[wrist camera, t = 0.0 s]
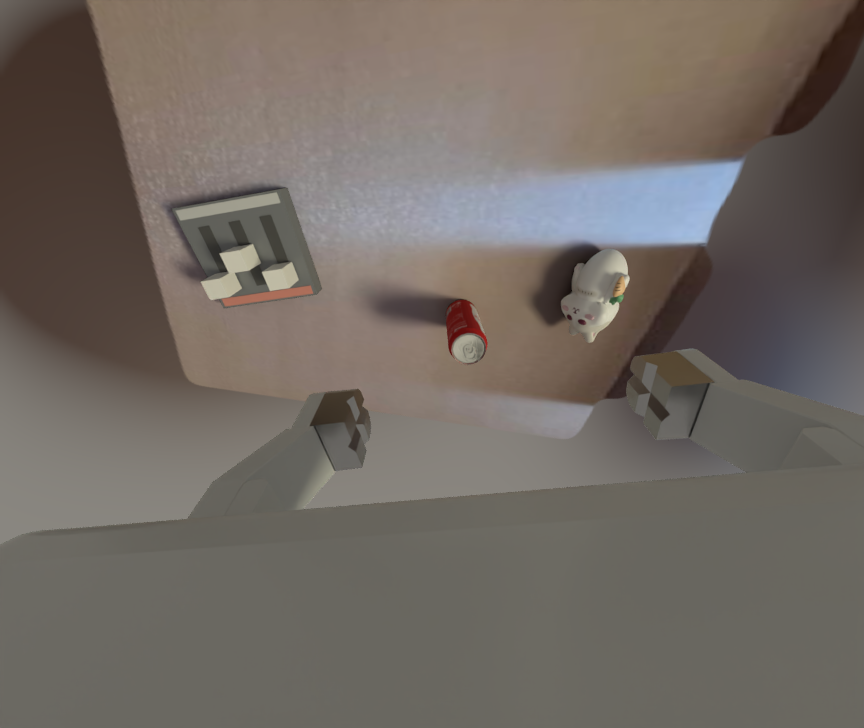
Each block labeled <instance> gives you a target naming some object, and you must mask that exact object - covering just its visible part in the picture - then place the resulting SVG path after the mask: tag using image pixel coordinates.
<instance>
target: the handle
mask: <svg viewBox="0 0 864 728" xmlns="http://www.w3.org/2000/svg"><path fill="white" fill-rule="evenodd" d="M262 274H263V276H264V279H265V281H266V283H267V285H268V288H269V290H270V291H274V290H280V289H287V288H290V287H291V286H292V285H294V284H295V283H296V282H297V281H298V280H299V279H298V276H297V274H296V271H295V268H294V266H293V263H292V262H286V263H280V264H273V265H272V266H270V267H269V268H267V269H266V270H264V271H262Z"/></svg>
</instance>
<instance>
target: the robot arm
mask: <svg viewBox="0 0 864 728" xmlns="http://www.w3.org/2000/svg"><path fill="white" fill-rule="evenodd" d="M630 369H631V371H632V372H633V373H634V376H633V377H632V378H631V379H630V380H629V381H628V383H627V390H626V392H627V398H628V402H629V404H630V406H631V408H632V409H633V410H634V412H636V413H637V414H639V415H641V416H643V417H645V418H644V422H643V423H644V425H645V426H646V427H647V429H648V430H649V431H650V433H651V434H652V435H653V436H654V438H655V439H656V440H664V439H678V438H690V440H692V441H694V442H695V443H697V444H699V445H701V446H702V447H704V448H706V449H707V450H709V451H711V452H712V453H714V454H716V455H717V456H719V457H721V458H723V459H724V460H726V461H728V462H730V463H731V464H733V465H734V466H736V467H738V468H740V469H741V470H743V471H745V472H746V473H736V474H725V475H713V476H701V477H690V478H677V479H665V480H652V481H641V482H628V483H615V484H603V485H591V486H579V487H566V488H554V489H542V490H531V491H520V492H519V491H518V492H507V493H494V494H483V495H471V496H460V497H459V496H458V497H447V498H435V499H422V500H410V501H398V502H386V503H374V504H362V505H350V506H339V507H327V508H314V509H304V508H305V506H306V505H307V504H308V503H309V502H310V501H311V500H312V498H313V497H314V496H315V495H316V494H317V493H318V491H319V490H320V489H321V488H322V487H323V486H324V484H325V483H326V482H327V481H328V480H329V479H330V478H331V476H332V475H333V474H334V473H335V471H339V470H347V469H355V468H362V466H363V462H364V458H365V454H366V448H365V445H364V444H365V443H366V442H367V441H368V440H369V438H370V432H371V422H370V417H369V413H368V410H366V409H365V408H364V407H362V404H363V401H364V398H363V396H362V393H361V391H360V390H359V389H351V390H341V391H330V392H321V393H313V394H311V395H309V397H308V399H307V400H306V402H305V404H304V406H303V408H302V410H301V411H300V413H299V415H298V417H297V419H296V421H295V423H294V424H293V426H292V428H291V429H286V430H284V431H283V432H282V433H280V434H279V435H278V436H276V437H275V438H273V439H272V440H270V441H269V442H268V443H266V444H265V445H264V446H262V447H261V448H259V449H258V450H256V451H255V452H254V453H252V454H251V455H250V456H248V457H247V458H245V459H244V460H243V461H241V462H240V463H238V464H237V465H236V466H234V467H233V468H232V469H230V470H229V471H227V472H226V473H225V474H223V475H222V476H220V477H219V478H218V479H216V480H215V481H213V482H212V484H211V485H210V487H209V488H208V489H207V491H206V492H205V494H204V495H203V497H202V498H201V499H200V501H199V502H198V504H197V505H196V507H195V508H194V510H193V511H192V512H191V514H190V516H189V517H188V518H187V519H182V520H168V521H156V522H144V523H132V524H120V525H107V526H95V527H83V528H71V529H55V530H42V531H36V532H30V533H26V534H22V535H20V536H17V537H15V538H13V539H11V540H9V541H6V542H4V543H3V544H1V545H0V728H864V416H862V415H859V414H856V413H853V412H850V411H846V410H843V409H840V408H836V407H833V406H830V405H827V404H823V403H820V402H817V401H813V400H810V399H807V398H804V397H800V396H797V395H794V394H790V393H787V392H784V391H781V390H777V389H774V388H771V387H767V386H764V385H761V384H757V383H754V382H751V381H748V380H737V379H736V378H735V377H733V376H732V375H731V374H729V373H728V372H727V371H725V370H724V369H723V368H721V367H720V366H718V365H717V364H716V363H715V362H713V361H712V360H710V359H709V358H708V357H706V356H705V355H704V354H702V353H701V352H700V351H698V350H696V349H685V350H679V351H673V352H667V353H659V354H651V355H644V356H636V357H634V359H633V361H632V363H631V368H630Z"/></svg>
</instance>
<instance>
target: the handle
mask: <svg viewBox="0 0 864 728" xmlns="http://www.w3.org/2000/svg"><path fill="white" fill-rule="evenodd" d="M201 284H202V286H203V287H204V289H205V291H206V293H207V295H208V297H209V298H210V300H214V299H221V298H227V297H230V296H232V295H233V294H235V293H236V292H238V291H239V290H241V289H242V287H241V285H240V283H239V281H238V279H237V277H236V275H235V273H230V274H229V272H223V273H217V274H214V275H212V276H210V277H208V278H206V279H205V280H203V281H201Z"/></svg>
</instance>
